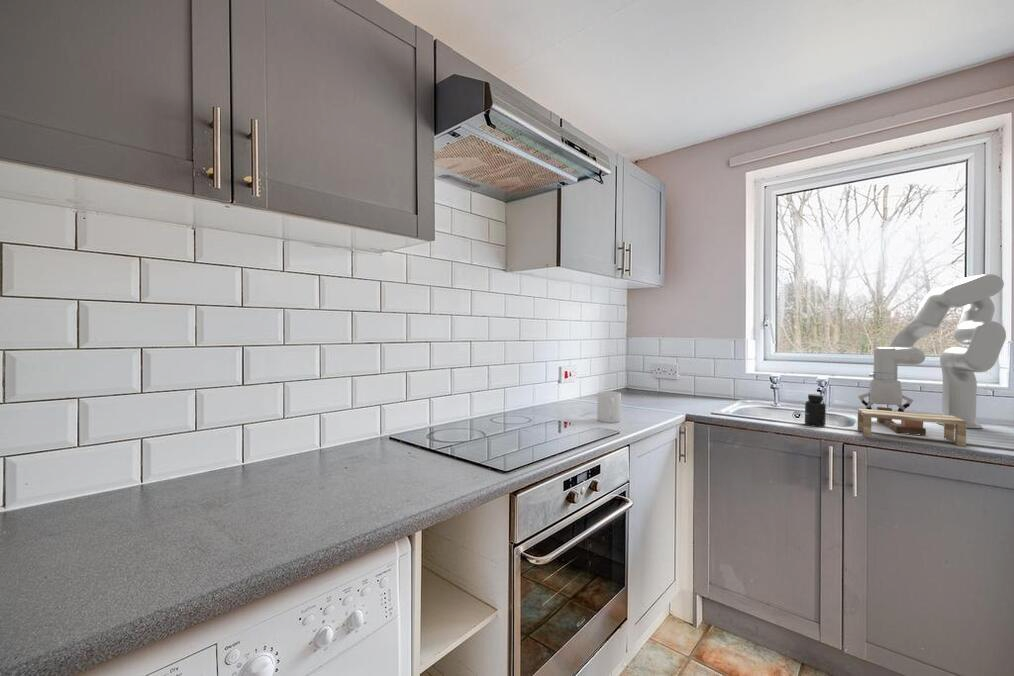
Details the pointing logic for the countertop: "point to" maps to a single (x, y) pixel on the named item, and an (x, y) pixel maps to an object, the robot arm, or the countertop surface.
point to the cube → (912, 423)
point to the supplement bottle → (815, 410)
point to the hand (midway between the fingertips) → (884, 417)
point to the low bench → (948, 420)
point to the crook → (898, 428)
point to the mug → (609, 407)
